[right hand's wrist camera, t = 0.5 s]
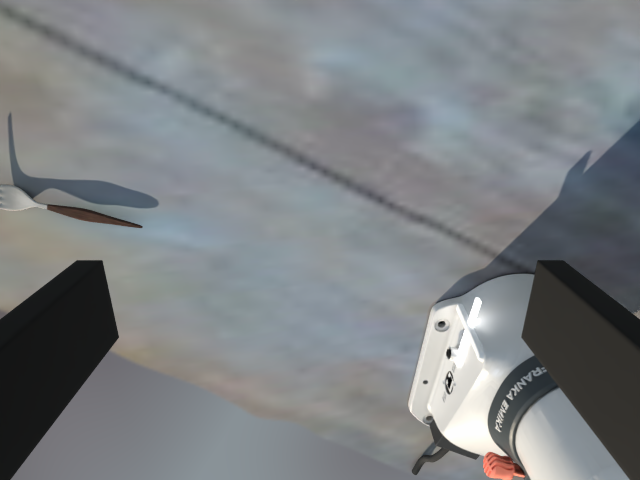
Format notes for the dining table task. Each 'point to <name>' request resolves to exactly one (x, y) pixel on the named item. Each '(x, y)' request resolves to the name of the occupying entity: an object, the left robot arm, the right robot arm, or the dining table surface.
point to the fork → (53, 207)
